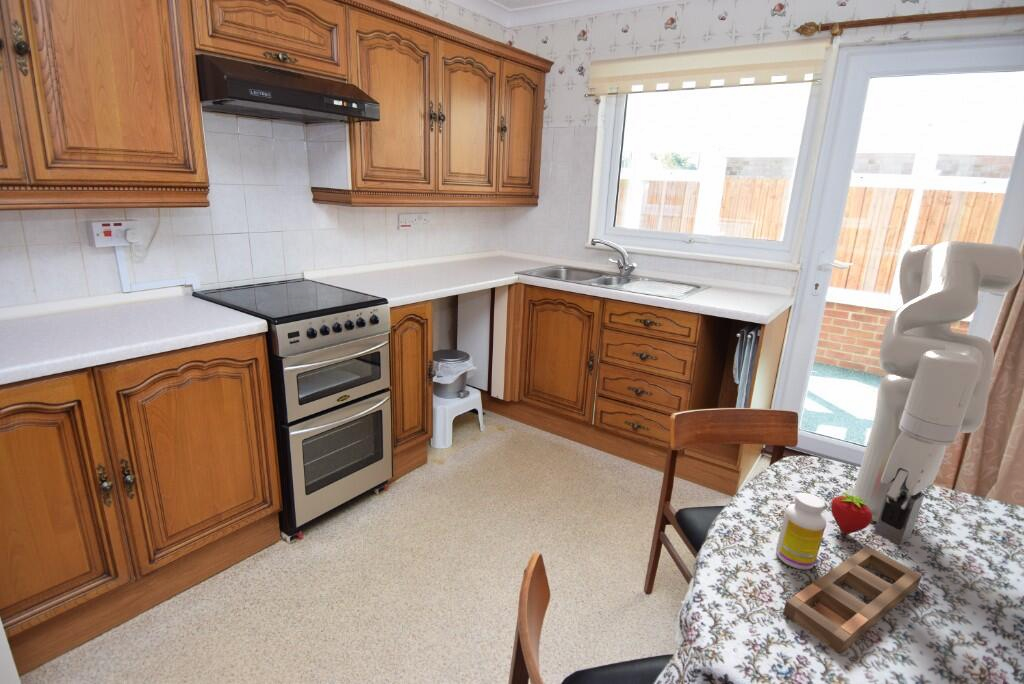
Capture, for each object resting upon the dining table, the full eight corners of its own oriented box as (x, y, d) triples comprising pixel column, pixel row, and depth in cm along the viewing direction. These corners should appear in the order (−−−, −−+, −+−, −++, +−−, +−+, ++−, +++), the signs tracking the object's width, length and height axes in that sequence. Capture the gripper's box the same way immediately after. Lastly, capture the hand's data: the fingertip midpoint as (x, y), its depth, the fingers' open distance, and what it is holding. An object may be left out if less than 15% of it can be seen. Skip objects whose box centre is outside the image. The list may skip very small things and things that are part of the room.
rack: (863, 556, 102) (867, 545, 101) (917, 586, 95) (922, 574, 94) (783, 613, 87) (786, 600, 86) (840, 654, 80) (844, 640, 79)
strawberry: (853, 548, 104) (867, 504, 101) (817, 526, 111) (829, 484, 108) (871, 541, 107) (885, 498, 104) (835, 519, 113) (847, 478, 110)
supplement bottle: (819, 574, 96) (837, 513, 93) (780, 567, 98) (796, 507, 94) (807, 550, 103) (823, 492, 99) (771, 544, 104) (785, 486, 100)
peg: (884, 525, 96) (898, 482, 93) (909, 538, 93) (925, 494, 90) (874, 532, 94) (888, 488, 91) (899, 545, 91) (915, 500, 88)
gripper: (923, 407, 94) (894, 495, 100) (880, 427, 85) (850, 523, 91) (975, 424, 88) (941, 517, 94) (935, 448, 79) (900, 549, 85)
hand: (897, 519), depth 93 cm, fingers closed on peg, 4 cm apart
